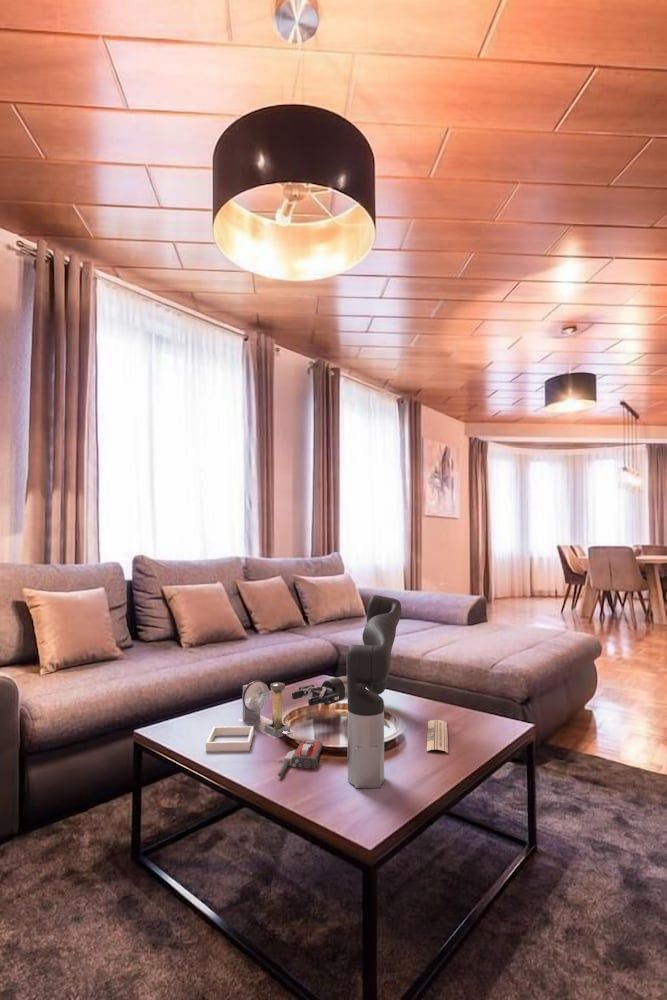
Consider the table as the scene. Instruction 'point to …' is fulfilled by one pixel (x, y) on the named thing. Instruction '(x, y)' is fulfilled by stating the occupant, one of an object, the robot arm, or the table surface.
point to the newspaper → (437, 736)
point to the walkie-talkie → (303, 756)
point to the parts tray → (230, 745)
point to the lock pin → (277, 704)
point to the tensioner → (253, 703)
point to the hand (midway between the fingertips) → (300, 699)
